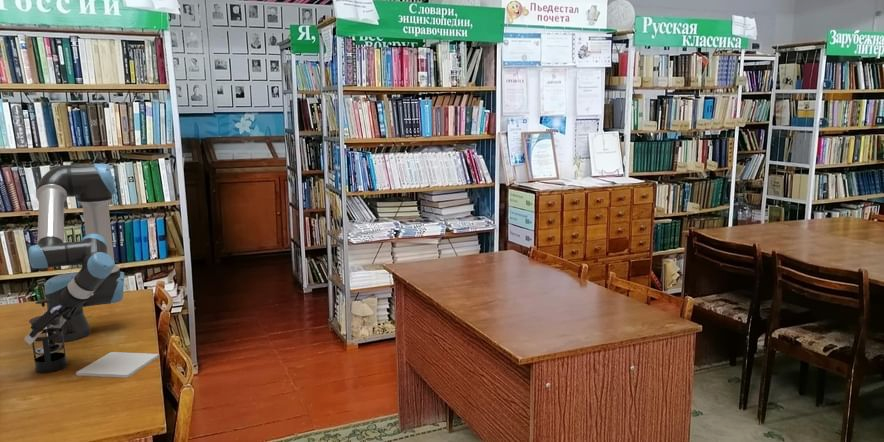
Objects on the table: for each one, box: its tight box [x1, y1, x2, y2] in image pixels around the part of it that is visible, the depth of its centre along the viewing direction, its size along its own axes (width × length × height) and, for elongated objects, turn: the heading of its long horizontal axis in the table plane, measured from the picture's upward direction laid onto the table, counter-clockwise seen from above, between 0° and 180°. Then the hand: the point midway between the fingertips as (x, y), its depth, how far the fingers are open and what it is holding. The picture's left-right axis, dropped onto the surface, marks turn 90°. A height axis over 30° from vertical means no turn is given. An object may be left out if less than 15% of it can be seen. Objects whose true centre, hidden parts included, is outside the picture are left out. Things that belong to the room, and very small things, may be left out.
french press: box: [28, 298, 69, 373], centre depth 217 cm, size 12×9×23 cm
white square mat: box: [75, 351, 160, 379], centre depth 219 cm, size 18×18×1 cm
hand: (40, 335), depth 218 cm, fingers closed on french press, 10 cm apart
